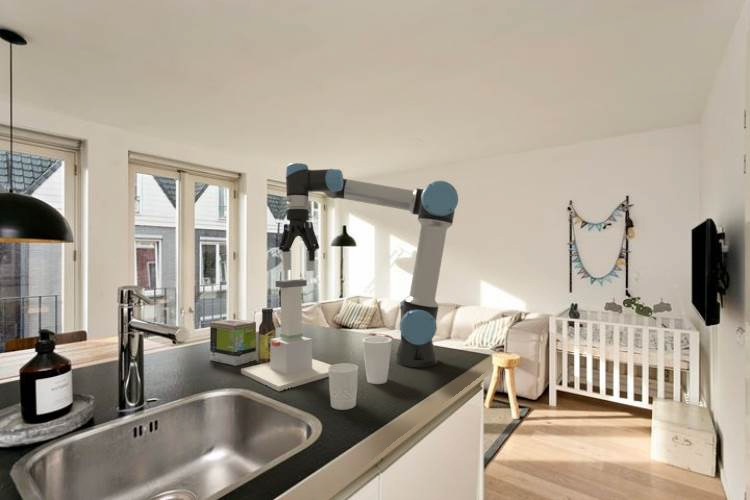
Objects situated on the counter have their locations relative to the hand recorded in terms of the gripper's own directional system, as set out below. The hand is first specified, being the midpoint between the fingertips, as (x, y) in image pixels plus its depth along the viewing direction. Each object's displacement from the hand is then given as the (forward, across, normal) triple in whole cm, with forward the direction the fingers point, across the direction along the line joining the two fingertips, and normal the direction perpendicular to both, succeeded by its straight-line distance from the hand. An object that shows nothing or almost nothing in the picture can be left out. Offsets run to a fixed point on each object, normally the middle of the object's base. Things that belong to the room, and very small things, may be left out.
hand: (298, 270), depth 131 cm
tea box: (+34, -29, -10) cm, 46 cm away
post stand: (+34, 0, -4) cm, 35 cm away
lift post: (+25, 0, -3) cm, 25 cm away
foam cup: (+35, +27, +11) cm, 45 cm away
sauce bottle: (+35, -18, -2) cm, 39 cm away
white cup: (+35, +33, -9) cm, 49 cm away
